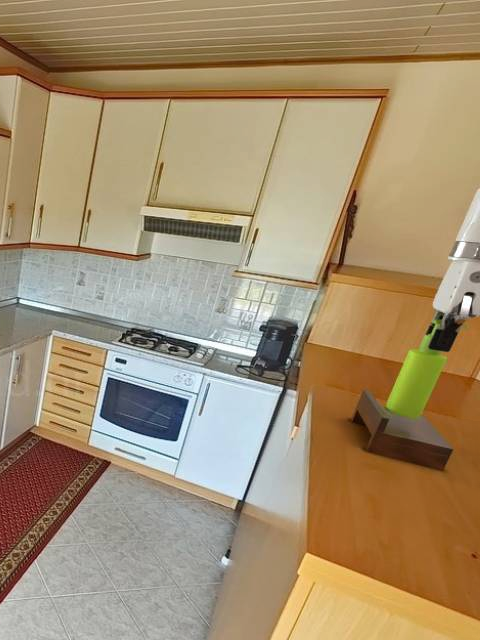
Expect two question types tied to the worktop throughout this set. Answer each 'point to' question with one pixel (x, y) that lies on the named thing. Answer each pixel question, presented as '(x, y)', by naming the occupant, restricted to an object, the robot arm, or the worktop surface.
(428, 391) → the soap dispenser
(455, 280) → the robot arm
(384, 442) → the wooden toy bed
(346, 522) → the worktop surface
